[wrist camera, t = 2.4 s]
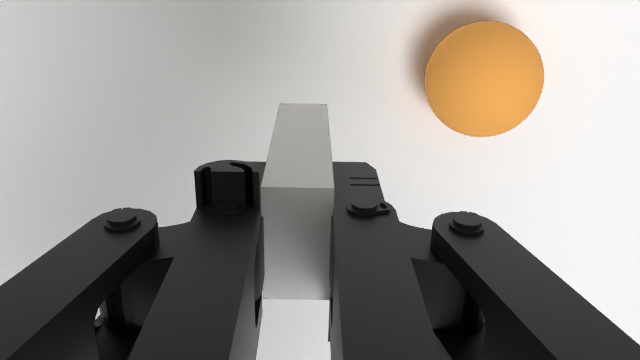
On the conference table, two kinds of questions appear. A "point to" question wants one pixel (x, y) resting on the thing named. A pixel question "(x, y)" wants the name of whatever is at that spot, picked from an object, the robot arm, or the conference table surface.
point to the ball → (484, 78)
